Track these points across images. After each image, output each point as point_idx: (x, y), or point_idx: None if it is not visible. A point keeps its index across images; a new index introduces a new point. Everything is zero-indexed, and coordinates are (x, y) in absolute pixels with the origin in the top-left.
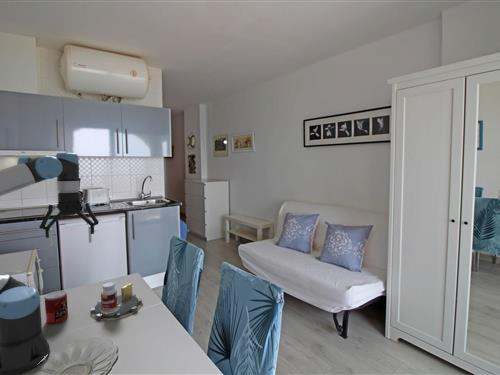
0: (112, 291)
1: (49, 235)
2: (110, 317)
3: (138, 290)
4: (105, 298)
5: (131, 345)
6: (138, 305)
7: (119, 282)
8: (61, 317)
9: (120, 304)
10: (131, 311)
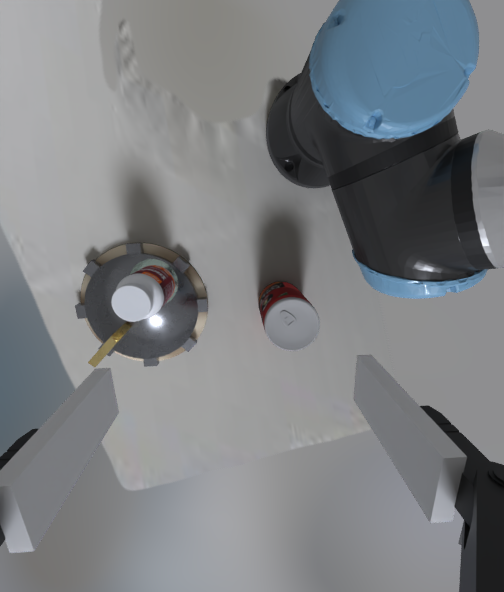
0: (123, 281)
1: (417, 410)
2: None
3: None
4: (150, 273)
5: (78, 84)
6: None
7: (162, 454)
8: (269, 287)
9: None
10: None
